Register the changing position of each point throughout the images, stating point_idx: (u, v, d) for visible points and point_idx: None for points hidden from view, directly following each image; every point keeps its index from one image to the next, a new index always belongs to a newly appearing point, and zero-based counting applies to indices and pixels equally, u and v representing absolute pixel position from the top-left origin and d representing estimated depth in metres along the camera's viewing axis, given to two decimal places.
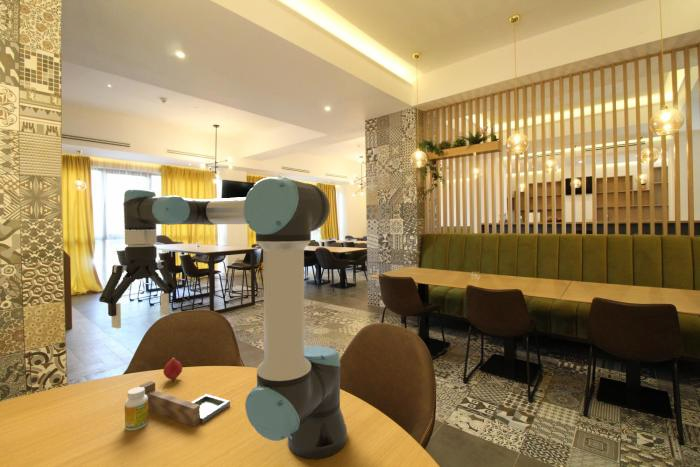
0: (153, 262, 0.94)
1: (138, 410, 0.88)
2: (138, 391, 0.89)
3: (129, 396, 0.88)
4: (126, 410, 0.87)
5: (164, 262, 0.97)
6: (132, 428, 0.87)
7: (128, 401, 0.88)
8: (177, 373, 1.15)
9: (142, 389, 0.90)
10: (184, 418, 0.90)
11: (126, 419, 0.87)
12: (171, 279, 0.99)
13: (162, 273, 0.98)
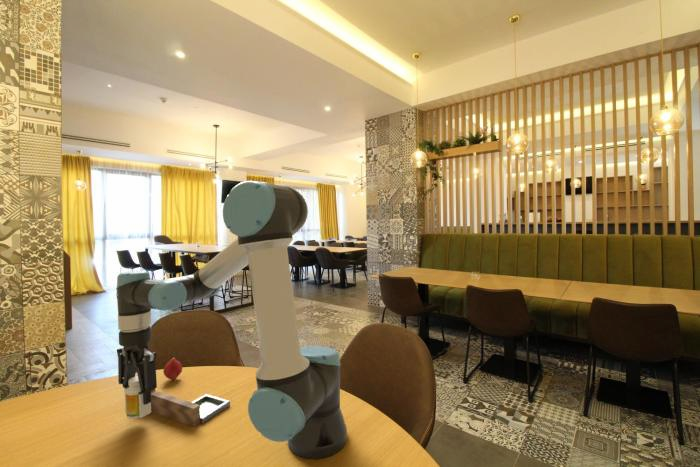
0: (139, 349, 0.87)
1: None
2: None
3: (130, 384, 0.88)
4: (127, 398, 0.87)
5: (145, 356, 0.86)
6: (133, 416, 0.87)
7: (129, 389, 0.88)
8: (177, 373, 1.15)
9: None
10: (184, 418, 0.90)
11: (127, 407, 0.87)
12: (146, 378, 0.86)
13: None
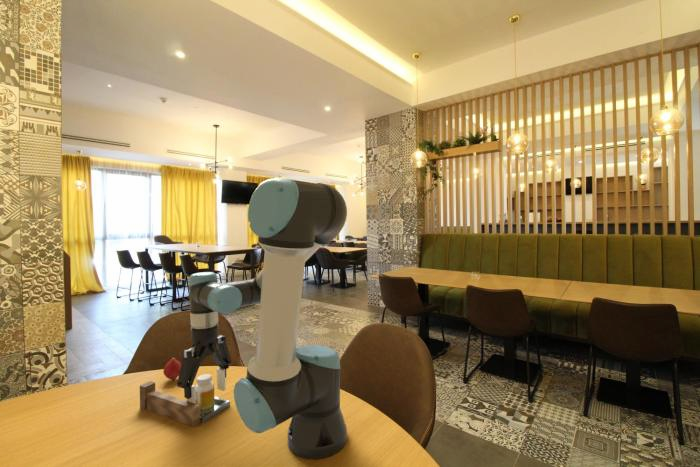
0: (215, 338, 0.99)
1: None
2: (207, 375, 0.98)
3: (209, 380, 0.96)
4: (211, 393, 0.96)
5: (224, 337, 1.02)
6: (214, 405, 0.97)
7: (209, 385, 0.96)
8: (177, 373, 1.15)
9: (204, 374, 0.98)
10: (184, 418, 0.90)
11: (210, 401, 0.96)
12: (227, 354, 1.03)
13: (220, 348, 1.03)
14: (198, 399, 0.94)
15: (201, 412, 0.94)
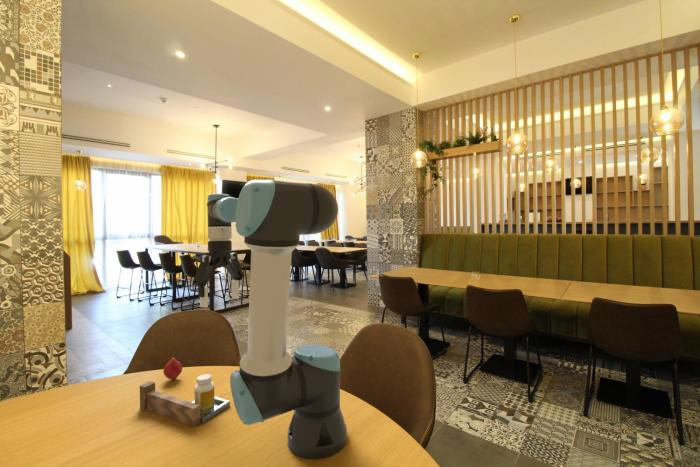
0: (228, 254, 1.13)
1: None
2: (207, 375, 0.98)
3: (209, 380, 0.96)
4: (211, 392, 0.96)
5: (235, 254, 1.16)
6: (214, 405, 0.97)
7: (209, 385, 0.96)
8: (177, 373, 1.15)
9: (204, 374, 0.98)
10: (184, 418, 0.90)
11: (210, 401, 0.96)
12: (240, 268, 1.18)
13: (233, 263, 1.17)
14: (198, 399, 0.94)
15: (201, 412, 0.94)
